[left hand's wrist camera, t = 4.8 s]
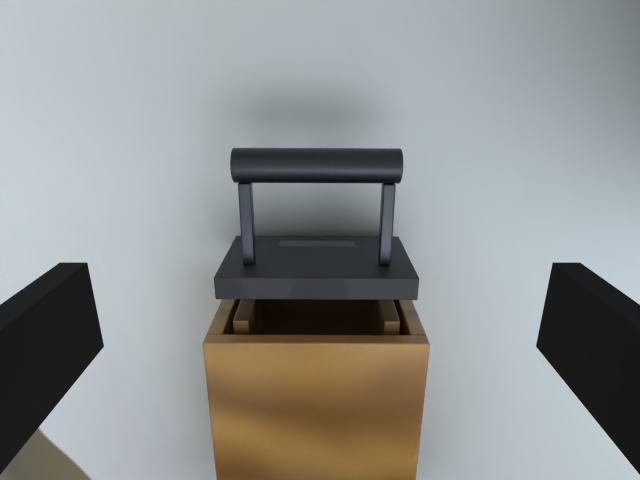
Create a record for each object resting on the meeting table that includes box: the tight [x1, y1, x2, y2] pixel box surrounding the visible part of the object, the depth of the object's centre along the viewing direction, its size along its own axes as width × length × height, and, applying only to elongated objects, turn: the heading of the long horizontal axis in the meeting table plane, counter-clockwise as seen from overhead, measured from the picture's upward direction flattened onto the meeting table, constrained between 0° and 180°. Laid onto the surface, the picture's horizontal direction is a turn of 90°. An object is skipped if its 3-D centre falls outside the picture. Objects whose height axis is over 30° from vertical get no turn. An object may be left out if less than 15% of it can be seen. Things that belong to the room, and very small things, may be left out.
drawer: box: [214, 148, 419, 335], centre depth 26 cm, size 23×10×6 cm, turn 0°
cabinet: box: [203, 299, 430, 480], centre depth 28 cm, size 19×11×8 cm, turn 0°
